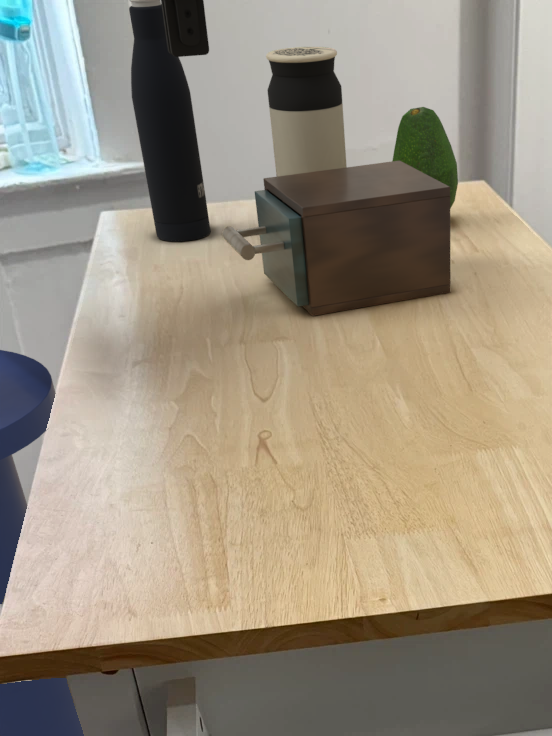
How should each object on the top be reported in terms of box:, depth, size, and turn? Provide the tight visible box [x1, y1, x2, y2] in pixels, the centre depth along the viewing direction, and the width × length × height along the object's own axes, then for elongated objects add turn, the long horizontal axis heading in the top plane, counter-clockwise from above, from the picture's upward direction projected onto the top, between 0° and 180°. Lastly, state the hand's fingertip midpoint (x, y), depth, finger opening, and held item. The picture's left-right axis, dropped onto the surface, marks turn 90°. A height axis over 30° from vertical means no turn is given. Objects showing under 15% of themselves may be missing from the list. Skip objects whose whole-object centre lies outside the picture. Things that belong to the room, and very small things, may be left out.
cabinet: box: [262, 160, 451, 317], centre depth 101 cm, size 15×13×10 cm
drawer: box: [221, 189, 309, 307], centre depth 100 cm, size 18×11×8 cm, turn 112°
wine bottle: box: [128, 0, 212, 243], centre depth 111 cm, size 6×6×30 cm
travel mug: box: [265, 46, 348, 177], centre depth 113 cm, size 8×8×18 cm
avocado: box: [392, 106, 459, 210], centre depth 117 cm, size 8×8×12 cm
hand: (189, 54), depth 86 cm, fingers closed
